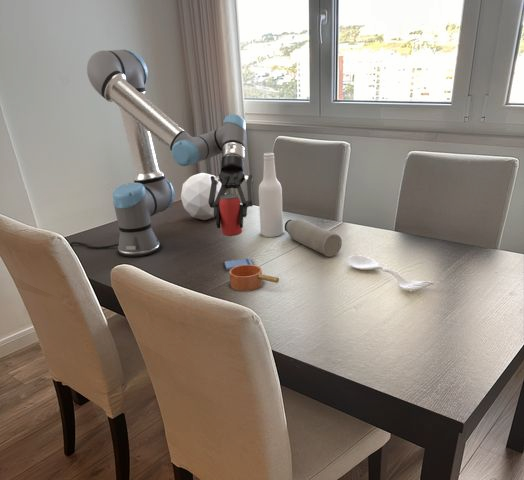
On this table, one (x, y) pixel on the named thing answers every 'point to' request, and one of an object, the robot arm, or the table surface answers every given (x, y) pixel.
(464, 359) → the table surface
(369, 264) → the spoon
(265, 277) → the pan handle
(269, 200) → the alcohol
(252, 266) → the pan
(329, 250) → the thermos bottle
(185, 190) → the geometric orb
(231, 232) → the beer can
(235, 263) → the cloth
